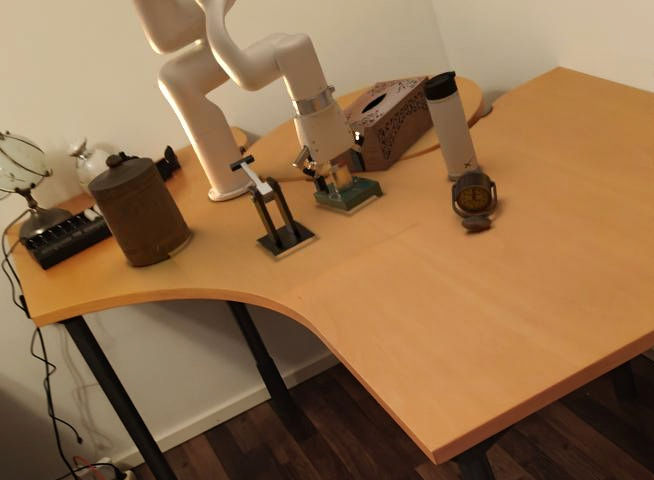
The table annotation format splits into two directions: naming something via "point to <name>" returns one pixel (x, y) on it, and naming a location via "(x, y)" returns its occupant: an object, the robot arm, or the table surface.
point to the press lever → (254, 178)
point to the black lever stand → (292, 230)
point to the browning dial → (341, 177)
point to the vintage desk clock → (474, 198)
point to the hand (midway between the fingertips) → (343, 181)
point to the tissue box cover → (388, 121)
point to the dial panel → (350, 194)
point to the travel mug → (450, 124)
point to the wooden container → (139, 210)
